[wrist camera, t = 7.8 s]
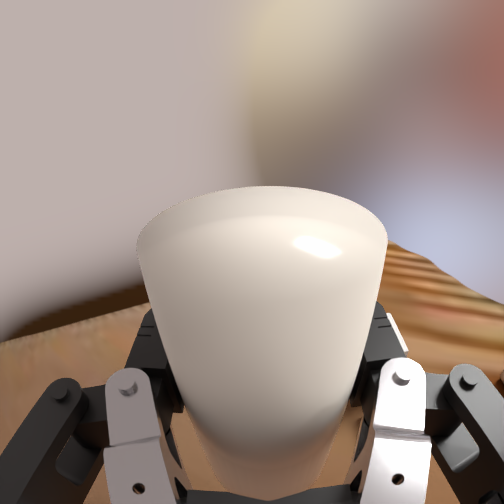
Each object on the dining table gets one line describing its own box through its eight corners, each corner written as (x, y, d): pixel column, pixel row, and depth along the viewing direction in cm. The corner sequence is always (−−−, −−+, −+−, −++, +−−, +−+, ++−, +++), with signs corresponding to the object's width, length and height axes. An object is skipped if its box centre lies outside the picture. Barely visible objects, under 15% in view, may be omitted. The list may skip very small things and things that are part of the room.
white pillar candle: (206, 502, 10) (94, 302, 4) (214, 408, 14) (170, 191, 9) (331, 497, 10) (433, 289, 4) (318, 404, 14) (347, 184, 9)
